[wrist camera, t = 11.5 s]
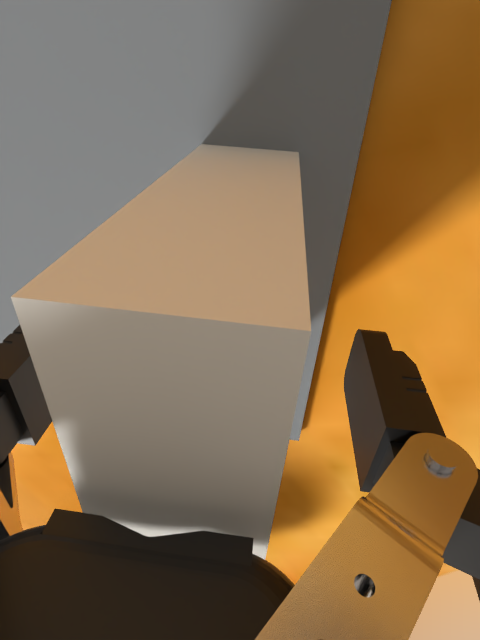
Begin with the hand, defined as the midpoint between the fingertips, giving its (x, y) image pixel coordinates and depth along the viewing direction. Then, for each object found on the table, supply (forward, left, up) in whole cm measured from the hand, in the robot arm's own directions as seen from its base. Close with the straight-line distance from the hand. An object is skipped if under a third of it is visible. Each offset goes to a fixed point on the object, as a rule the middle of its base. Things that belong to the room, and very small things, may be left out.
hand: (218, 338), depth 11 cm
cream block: (0, 0, -6) cm, 6 cm away
